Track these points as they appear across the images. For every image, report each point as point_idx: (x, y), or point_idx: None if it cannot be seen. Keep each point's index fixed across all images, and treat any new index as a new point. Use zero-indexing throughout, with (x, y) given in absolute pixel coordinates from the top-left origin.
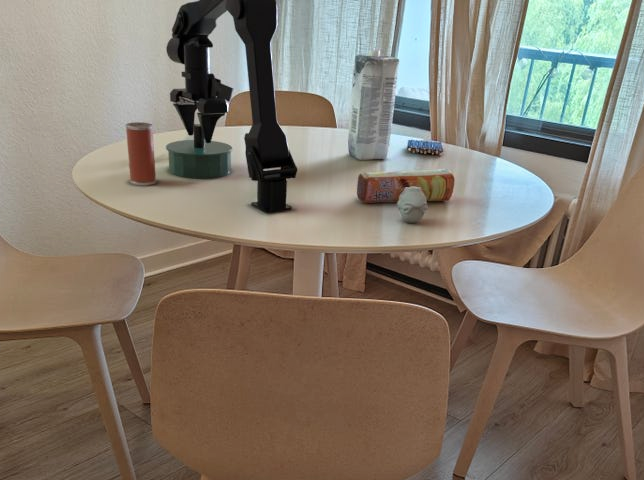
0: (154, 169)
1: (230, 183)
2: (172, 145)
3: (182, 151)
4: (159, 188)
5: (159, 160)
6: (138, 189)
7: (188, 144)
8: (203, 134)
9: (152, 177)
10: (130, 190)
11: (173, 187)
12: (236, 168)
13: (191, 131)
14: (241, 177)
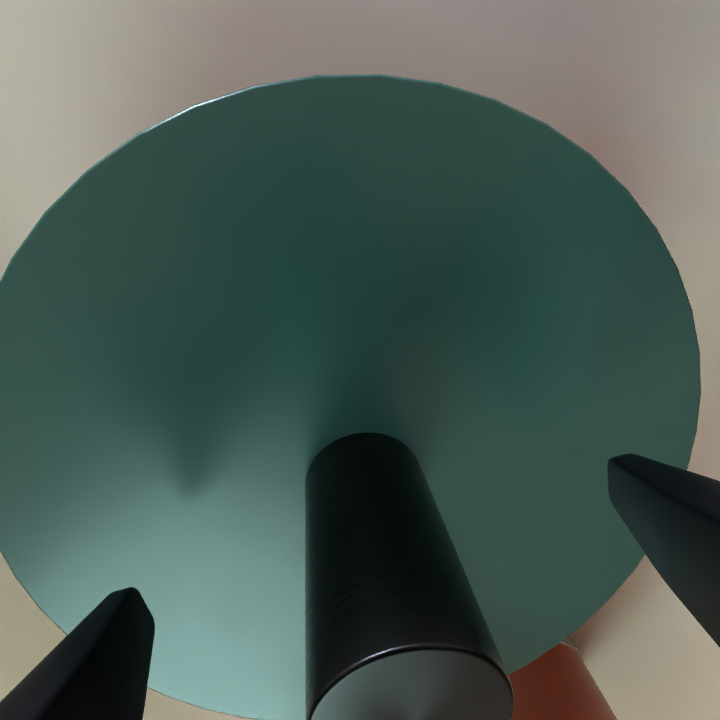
0: (592, 700)
1: (710, 248)
2: (280, 684)
3: (522, 630)
4: (641, 618)
5: (24, 590)
6: (621, 687)
7: (241, 565)
8: (708, 612)
9: (588, 673)
10: (623, 711)
11: (651, 564)
12: (304, 51)
13: (128, 644)
14: (599, 109)
